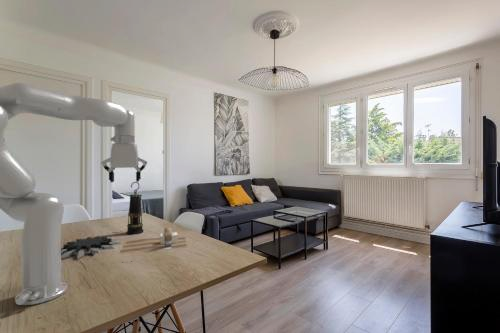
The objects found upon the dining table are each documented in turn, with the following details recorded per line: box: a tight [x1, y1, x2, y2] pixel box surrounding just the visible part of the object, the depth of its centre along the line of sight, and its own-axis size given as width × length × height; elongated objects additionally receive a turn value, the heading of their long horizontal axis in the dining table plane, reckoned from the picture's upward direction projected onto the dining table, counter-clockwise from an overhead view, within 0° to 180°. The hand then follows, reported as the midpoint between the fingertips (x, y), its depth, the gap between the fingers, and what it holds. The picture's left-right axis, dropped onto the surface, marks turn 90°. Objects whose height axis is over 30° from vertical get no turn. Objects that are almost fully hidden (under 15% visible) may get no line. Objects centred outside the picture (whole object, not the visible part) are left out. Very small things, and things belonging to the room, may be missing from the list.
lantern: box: [126, 181, 144, 236], centre depth 149 cm, size 9×9×30 cm
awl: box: [163, 227, 173, 247], centre depth 121 cm, size 3×3×8 cm
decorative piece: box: [61, 235, 122, 261], centre depth 121 cm, size 30×4×30 cm
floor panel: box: [118, 235, 187, 255], centre depth 125 cm, size 20×29×1 cm
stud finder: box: [159, 231, 178, 245], centre depth 127 cm, size 5×8×4 cm, turn 108°
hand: (125, 181), depth 105 cm, fingers open, 9 cm apart
